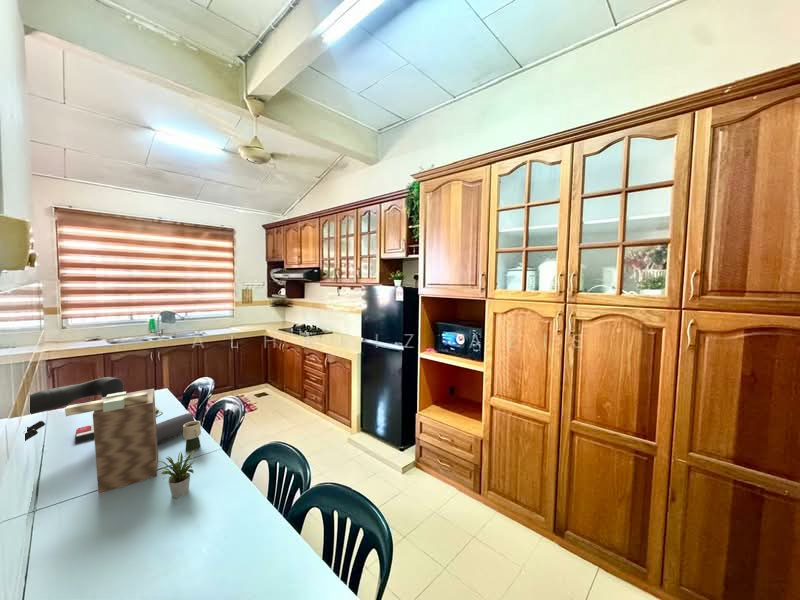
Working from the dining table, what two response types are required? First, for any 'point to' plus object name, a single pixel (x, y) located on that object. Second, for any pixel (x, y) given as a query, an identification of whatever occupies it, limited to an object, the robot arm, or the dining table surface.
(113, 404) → the pale green blocks
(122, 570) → the dining table surface
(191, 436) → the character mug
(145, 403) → the walnut stand
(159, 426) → the bluetooth speaker
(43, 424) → the robot arm
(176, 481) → the house plant
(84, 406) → the maple plank
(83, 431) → the red and black block
